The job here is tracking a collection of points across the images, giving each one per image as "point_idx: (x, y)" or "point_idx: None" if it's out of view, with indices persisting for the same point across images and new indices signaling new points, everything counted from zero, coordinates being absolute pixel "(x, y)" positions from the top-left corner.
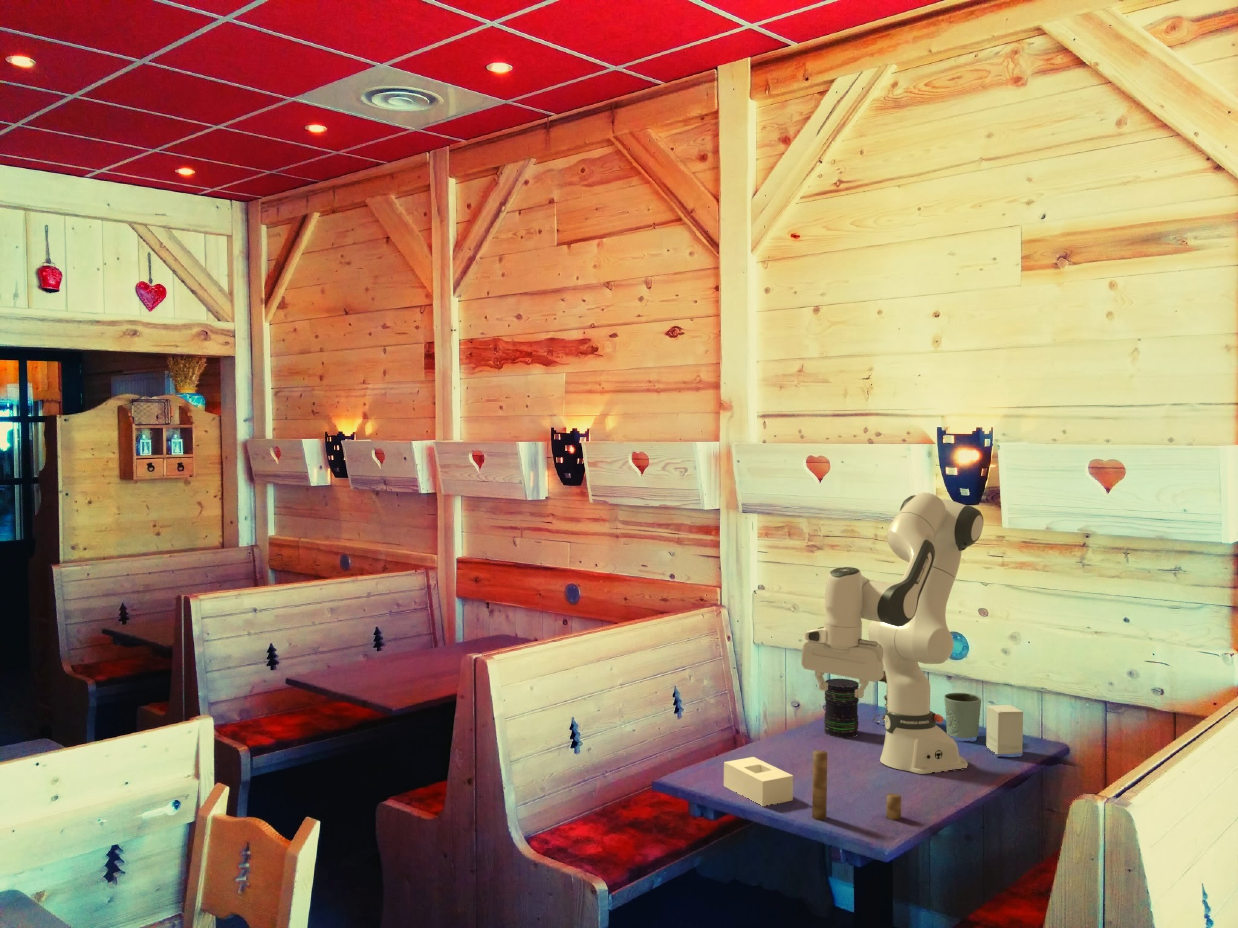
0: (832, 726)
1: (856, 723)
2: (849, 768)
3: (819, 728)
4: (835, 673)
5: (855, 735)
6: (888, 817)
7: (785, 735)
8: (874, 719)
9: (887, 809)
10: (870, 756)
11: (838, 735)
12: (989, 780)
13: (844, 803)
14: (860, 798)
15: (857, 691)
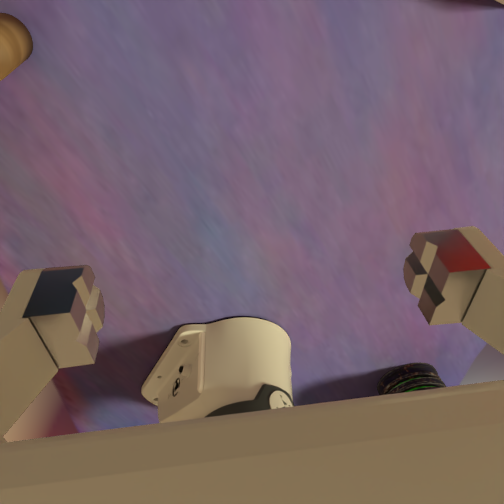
0: (423, 379)
1: None
2: (314, 263)
3: (448, 374)
4: (351, 413)
5: (378, 385)
6: (5, 14)
7: None
8: None
9: (4, 22)
10: (311, 335)
11: (404, 368)
12: (75, 374)
13: (189, 36)
14: (182, 112)
15: (38, 307)
